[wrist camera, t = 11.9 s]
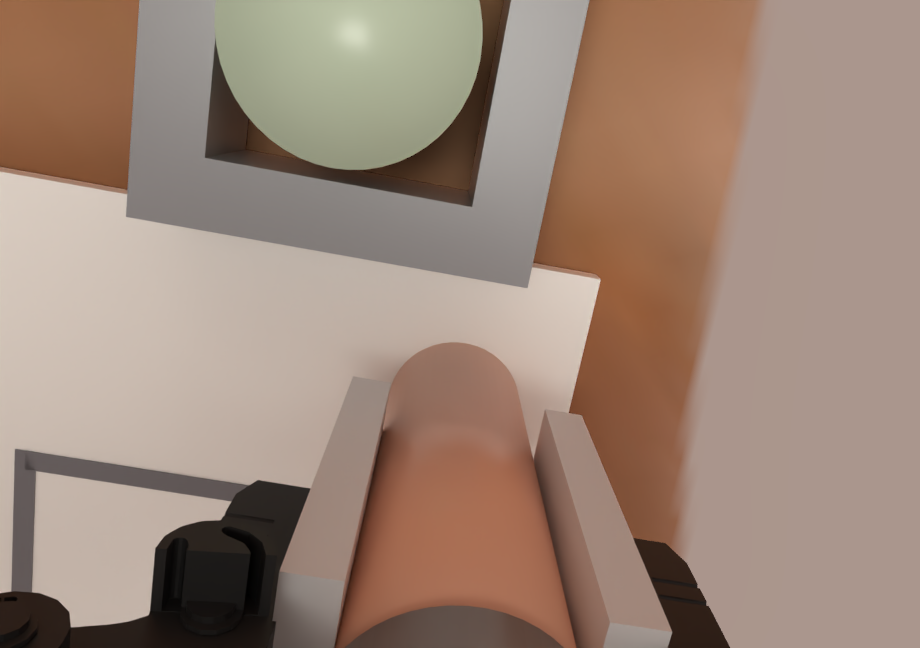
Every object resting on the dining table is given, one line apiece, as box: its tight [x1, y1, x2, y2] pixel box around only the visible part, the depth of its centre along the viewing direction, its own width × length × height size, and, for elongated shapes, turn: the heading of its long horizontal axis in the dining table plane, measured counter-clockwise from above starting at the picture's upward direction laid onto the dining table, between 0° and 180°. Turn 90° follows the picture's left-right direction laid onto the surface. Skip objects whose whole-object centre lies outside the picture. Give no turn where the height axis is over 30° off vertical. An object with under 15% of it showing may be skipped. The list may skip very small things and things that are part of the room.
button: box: [214, 0, 483, 170], centre depth 14 cm, size 4×4×3 cm
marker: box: [335, 342, 577, 648], centre depth 13 cm, size 3×3×12 cm
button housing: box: [126, 0, 589, 288], centre depth 15 cm, size 8×8×3 cm
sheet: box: [0, 167, 601, 627], centre depth 19 cm, size 16×13×1 cm
